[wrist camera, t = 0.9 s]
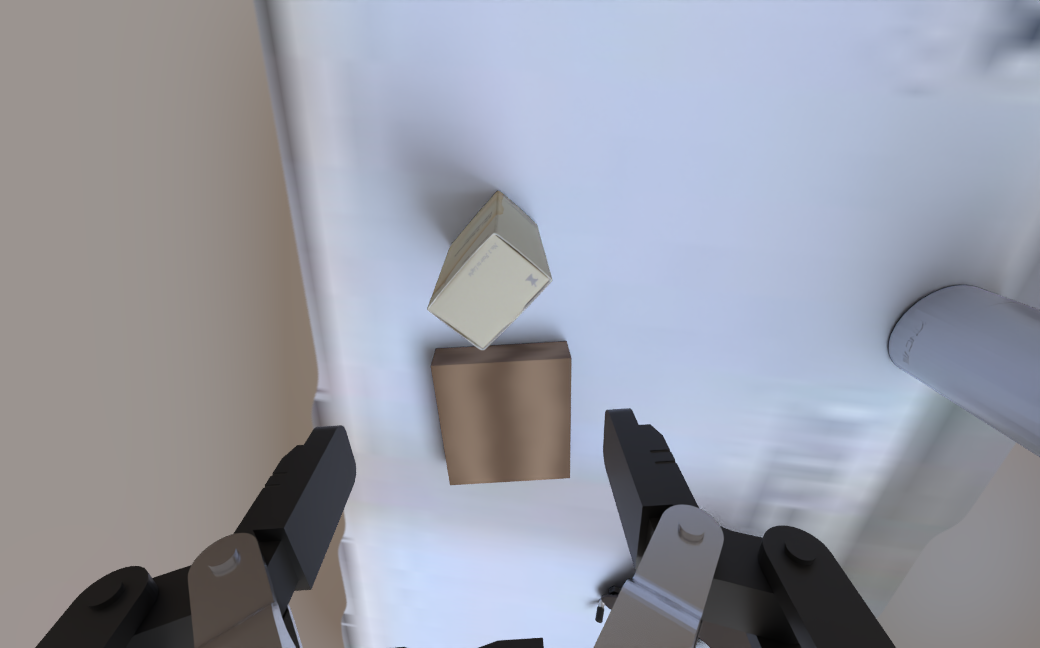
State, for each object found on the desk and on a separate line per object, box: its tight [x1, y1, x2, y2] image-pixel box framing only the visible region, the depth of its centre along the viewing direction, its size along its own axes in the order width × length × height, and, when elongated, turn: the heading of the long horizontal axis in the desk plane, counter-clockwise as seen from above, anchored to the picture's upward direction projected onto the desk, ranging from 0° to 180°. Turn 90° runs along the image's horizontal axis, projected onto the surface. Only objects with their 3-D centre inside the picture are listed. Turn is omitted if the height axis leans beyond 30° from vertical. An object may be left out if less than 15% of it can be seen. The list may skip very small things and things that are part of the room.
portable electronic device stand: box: [595, 586, 752, 648], centre depth 54 cm, size 23×23×9 cm
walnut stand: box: [431, 341, 571, 485], centre depth 40 cm, size 12×14×3 cm
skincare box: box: [427, 191, 552, 350], centre depth 29 cm, size 6×4×12 cm
